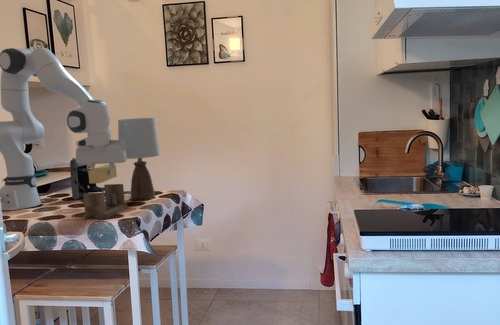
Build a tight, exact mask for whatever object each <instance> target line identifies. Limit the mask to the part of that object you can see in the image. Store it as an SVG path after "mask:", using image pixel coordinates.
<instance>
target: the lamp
mask: <svg viewBox="0 0 500 325" xmlns="http://www.w3.org/2000/svg"><path fill="white" fill-rule="evenodd" d="M117 123H118V124H117V128H118V129H117V130H118V131H117V132H118V133H117V134H118V139H117V140H122V141H124V142H125V147H126V148H125V151H126V155H127V160H130V159H131V160H133V159H137V161H135V162H133V166H134V169H133V172H132V175H131V180H130V182H131V183H130V184H131V185H130V199H131V200H133V201H134V200H135V201H136V200H138V201H139V200H148V199H149V200H150V199H153V198H155V196H156V193H155V187H154V184H153V179H152V176H151V174H150V171H149V169H148V168H147V166H146V165H147V164H148V163H147V161H143V159H147V158H154V157H158V156H161V154H160V153H161V152H160V146H159V139H158V133H157V132H158V131H157V125H156V118H155V117H142V118H141V117H138V118H126V119H125V118H122V119H117Z"/></svg>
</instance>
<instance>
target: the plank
mask: <svg viewBox="0 0 500 325" xmlns="http://www.w3.org/2000/svg"><path fill="white" fill-rule="evenodd" d="M110 167H111V166H109V164H104V165H102V166H99V167H95V169H91V170H89V171H88V173H89V183H96V184H102V183H104V182H106V181H109V180H112V179H114V178H116V177H118V176H117V175H118V174H117V164H115V166H114V168H113V170H112V171H113V174H110V175H108V174H107V173H108V172H107V170H109V169H110Z"/></svg>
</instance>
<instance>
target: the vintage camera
mask: <svg viewBox="0 0 500 325" xmlns="http://www.w3.org/2000/svg"><path fill="white" fill-rule="evenodd" d="M69 168H70V171H69V172H70V185H71V186H70V187H71V197H72V199H73V200H79V199H81V198H82V199H83V198H84V197H83V194H84V193H104V194H105V188H104V187H102V186H101V187H99V185H97V183H89V173H88V171H89V170H92V169H91V168H88V164H83V165H78V164H77V162H76V157H73V158H71V160H70V161H69ZM104 197H105V195H104Z"/></svg>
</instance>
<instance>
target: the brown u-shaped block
mask: <svg viewBox="0 0 500 325" xmlns="http://www.w3.org/2000/svg"><path fill="white" fill-rule="evenodd" d="M104 188H105V191H104V193H103V192H94V193H84V194H83V197H82V198H83V208H84V214H83V215H82V219H83V220H100V219H101V220H103V219H104V220H108V219H110V218H112V217H113V216H114V215H117V214H118V213H120V212H121V211H123V210H125V209H126V208H128V203H126V201H125V190H124V183H118V184H117V183H114V184H113V183H112V184H110V183H108V184H107V183H106V184H104ZM104 196H105V197H104Z"/></svg>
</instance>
